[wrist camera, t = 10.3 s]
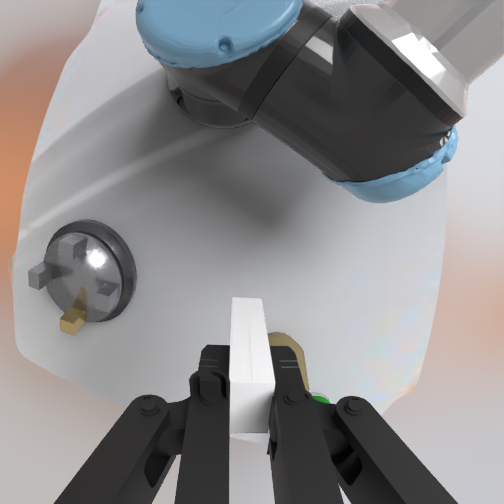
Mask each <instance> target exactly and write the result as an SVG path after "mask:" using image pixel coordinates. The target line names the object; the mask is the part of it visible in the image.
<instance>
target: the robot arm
mask: <svg viewBox="0 0 504 504" xmlns="http://www.w3.org/2000/svg"><path fill="white" fill-rule="evenodd" d="M136 25H137V29H138V31H139V34H140V36H141V38H142V41H143V43H144V45H145V48H146V49H147V50H148V52H149V54H151V55H152V56H154V58H155V59H156V60H158V61H159V62H160V64H161V65H162V66H163V67H164V68H165V70H166V71H167V83H168V88H169V92H170V95H171V97H172V99H173V101H174V102H175V104H176V105H177V106H178V107H179V109H180V110H181V111H182V112H183V113H185V114H186V115H187V116H188V117H189V118H191V119H192V120H194V121H196V122H198V123H200V124H203V125H206V126H209V127H214V128H234V127H239V126H242V125H245V124H248V123H250V122H253V123H255V124H257V125H258V126H260V127H261V128H263V129H264V130H266V131H267V132H269V133H270V134H271V135H273V136H274V137H276V138H277V139H279V140H280V141H282V142H283V143H285V144H286V145H287V146H289V147H290V148H292V149H293V150H294V151H296V152H297V153H299V154H300V155H301V156H303V157H304V158H305V159H307V160H308V161H309V162H311V163H312V164H314V165H315V166H316V167H318V168H319V169H320V170H321V171H322V173H323V175H324V176H325V177H326V178H327V179H329V180H330V181H332V182H334V183H336V184H338V185H341V186H342V187H344V188H345V189H346V190H348V191H349V192H350V193H352V194H353V195H354V196H356V197H357V198H359V199H362V200H365V201H367V202H372V203H388V202H393V201H397V200H400V199H403V198H405V197H408V196H410V195H412V194H414V193H416V192H418V191H419V190H421V189H422V188H424V187H425V186H427V185H428V184H429V183H431V182H432V181H433V180H434V179H435V178H436V177H437V176H438V175H439V174H440V173H441V172H442V171H443V166H442V164H444V163H446V162H449V161H450V160H451V159H452V157H453V155H454V153H455V151H456V147H457V142H458V134H457V131H456V126H455V124H456V123H457V122H458V121H459V120H461V119H462V118H463V117H464V116H466V115H467V91H468V88H469V85H470V84H471V83H472V82H473V81H475V80H476V79H477V78H478V77H479V76H480V75H482V74H483V73H484V72H485V71H486V70H488V69H489V68H490V67H491V66H492V65H493V64H494V63H496V62H497V61H498V60H499V59H500V58H501V57H503V56H504V0H385V1H383V2H381V3H379V4H354V5H352V6H350V8H349V9H348V10H347V11H346V13H345V14H344V15H343V16H342V17H341V18H340V19H339V20H338V19H336V18H335V17H333V16H332V15H330V14H329V13H327V12H326V11H324V10H323V9H321V8H319V7H318V6H316V5H315V4H313V3H311V2H310V1H308V0H138V3H137V7H136ZM189 384H190V395H191V396H190V397H188V398H187V399H185V400H183V401H179V402H173V403H167V402H166V401H165V400H164V399H163V398H161V397H159V396H156V395H142V396H140V397H137V398H136V399H135V400H133V401H132V402H131V403H130V405H129V406H128V407H127V409H126V410H125V411H124V413H123V414H122V415H121V417H120V418H119V419H118V420H117V422H116V423H115V424H114V426H113V427H112V428H111V429H110V431H109V432H108V433H107V435H106V436H105V437H104V439H103V440H102V441H101V442H100V444H99V445H98V446H97V448H96V449H95V450H94V452H93V453H92V454H91V456H90V457H89V458H88V459H87V461H86V462H85V463H84V465H83V466H82V467H81V468H80V470H79V471H78V472H77V474H76V475H75V476H74V478H73V479H72V480H71V482H70V483H69V484H68V486H67V487H66V488H65V489H64V491H63V492H62V493H61V495H60V496H59V497H58V499H57V500H56V501H55V503H54V504H152V502H153V500H154V498H155V496H156V494H157V492H158V491H159V489H160V487H161V484H162V483H163V481H164V479H165V477H166V475H167V473H168V471H169V469H170V467H171V466H172V464H173V462H174V460H175V458H176V455H178V454H181V461H180V467H179V474H178V482H177V489H176V496H175V504H229V433H268V430H269V431H270V439H269V444H268V451H267V454H270V461H271V470H272V479H273V489H274V498H275V504H344V503H343V499H342V495H341V492H340V488H339V485H340V487H341V488H342V490H343V491H344V493H345V495H346V496H347V498H348V499H349V501H350V502H351V504H458V503H457V502H456V501H455V500H454V499H453V497H452V496H451V495H450V494H449V493H448V492H447V491H446V490H445V488H444V487H443V486H442V485H441V484H440V483H439V482H438V481H437V479H436V478H435V477H434V476H433V475H432V474H431V473H430V472H429V470H428V469H427V468H426V467H425V466H424V465H423V464H422V463H421V461H420V460H419V459H418V458H417V457H416V456H415V454H414V453H413V452H412V451H411V450H410V449H409V448H408V447H407V445H406V444H405V443H404V442H403V441H402V440H401V439H400V437H399V436H398V435H397V434H396V433H395V432H394V431H393V430H392V428H391V427H390V426H389V425H388V424H387V423H386V421H385V420H384V419H383V418H382V417H381V416H380V415H379V413H378V412H377V411H376V410H375V409H374V408H373V406H372V405H371V404H370V403H369V402H368V401H366V400H365V399H363V398H360V397H356V396H348V397H344V398H342V399H340V400H339V401H338V402H337V404H330V403H324V402H320V401H317V400H315V399H314V398H313V397H312V395H311V393H309V392H308V391H306V389H305V386H304V382H303V378H302V375H301V371H300V368H299V364H298V361H297V357H296V354H295V352H294V351H293V350H292V349H291V348H290V347H289V346H269V341H268V335H267V329H266V323H265V317H264V311H263V305H262V299H261V298H235V297H232V315H231V340H230V346H228V345H207V346H206V347H205V348H204V349H203V350H202V351H201V357H200V363H199V368H198V371H196V372H195V373H194V374H192V375H191V377H190V379H189ZM338 483H339V485H338Z"/></svg>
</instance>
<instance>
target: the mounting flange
mask: <svg viewBox="0 0 504 504" xmlns="http://www.w3.org/2000/svg"><path fill="white" fill-rule="evenodd" d="M74 231H84V232H89V233H92V234H94V235H96V236H98V237H99V238H101V239H102V240H103V241H105V242H106V243H107V244H108V245H109V246H110V247H111V249H112V250H113V251H114V253H115V254H116V256H117V258H118V260H119V262H120V264H121V267H122V271H123V275H124V290H123V295H122V298H121V300H120V302H119V303H118V305H117V306H116V308H115V309H114V310H113V311H112V313H111V314H110V315H109V316H107V317H106V318H104V319H102V320H100V321H96V322H102V321H107V320H110V319H113V318H115V317H116V316H118V315H119V314H120V313H121V312H122V311H123V310H124V309H125V307H126V306H127V305H128V303H129V302H130V300H131V299H132V297H133V294H134V291H135V288H136V279H137V276H136V267H135V263H134V259H133V257H132V254H131V252H130V250H129V248H128V246H127V245H126V243H125V242H124V240H123V239H122V238H121V237H120V236H119V235H118V234H117V233H116V232H115V231H114V230H113V229H111V228H110V227H108V226H107V225H105V224H103V223H100V222H97V221H93V220H79V221H75V222H72V223H70V224H68V225H66V226H64V227H62V228H61V229H59V230H58V231H57V232H56V233H55V234H54V235H53V237H52V238H51V240H50V242H49V244H48V247H47V249H48V248H49V246H50V245H51V244H52V242H53V241H55V240H56V239H57V238H59V237H61V236H63V235H65V234H67V233H70V232H74ZM46 251H47V250H46Z"/></svg>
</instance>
